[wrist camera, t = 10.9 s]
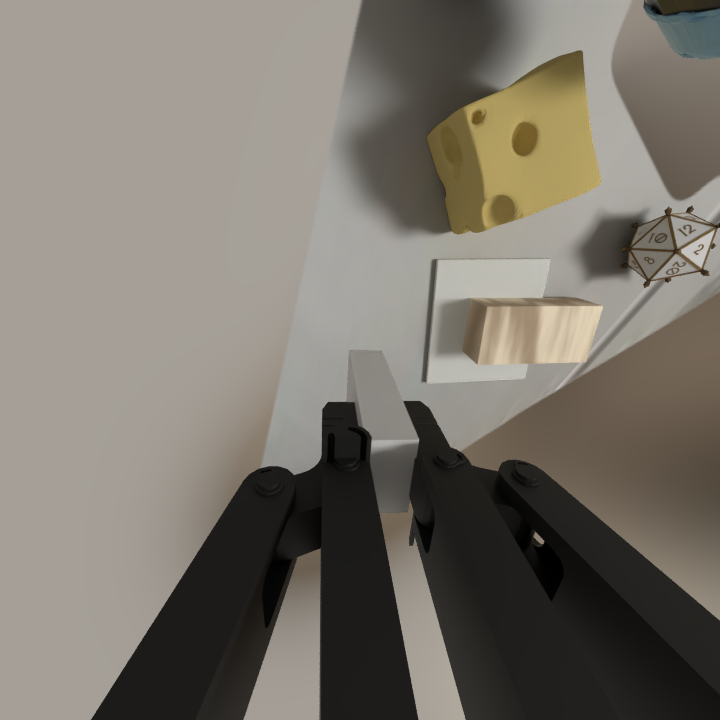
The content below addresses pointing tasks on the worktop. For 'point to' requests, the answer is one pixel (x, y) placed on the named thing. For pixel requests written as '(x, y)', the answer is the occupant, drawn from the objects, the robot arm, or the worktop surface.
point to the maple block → (530, 330)
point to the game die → (670, 246)
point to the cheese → (517, 148)
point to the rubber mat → (452, 305)
